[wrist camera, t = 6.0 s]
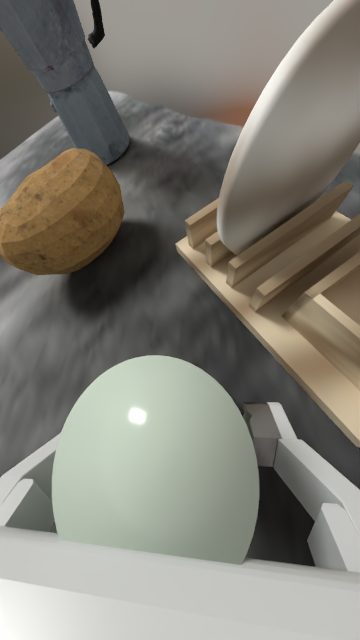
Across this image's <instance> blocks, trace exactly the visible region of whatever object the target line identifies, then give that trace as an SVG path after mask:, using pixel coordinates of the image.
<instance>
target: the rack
mask: <svg viewBox="0 0 360 640" xmlns="http://www.w3.org/2000/svg"><path fill="white" fill-rule="evenodd" d="M359 143H360V0H334V1H333V2H332V3H331V4H330V5H329V6H328V7H327V8H326V9H325V10H324V11H323V12H322V13H321V14H320V15H318V16H317V17H316V19H315V20H314V21H313V22H312V23H311V24H310V26H309V27H308V28H307V29H306V30H305V31H304V33H303V34H302V35H301V36H300V37H299V38H298V40H297V41H296V43H295V44H294V45H293V47H292V48H291V49H290V51H289V52H288V53H287V55H286V56H285V58H284V59H283V60H282V62H281V63H280V65H279V66H278V68H277V69H276V71H275V72H274V74H273V76H272V77H271V79H270V80H269V82H268V83H267V85H266V87H265V88H264V90H263V92H262V94H261V95H260V97H259V99H258V101H257V103H256V104H255V106H254V108H253V110H252V112H251V114H250V116H249V118H248V120H247V122H246V124H245V126H244V128H243V130H242V132H241V134H240V136H239V139H238V141H237V144H236V146H235V149H234V151H233V153H232V156H231V159H230V161H229V164H228V167H227V170H226V173H225V176H224V180H223V184H222V187H221V191H220V196H219V198H218V199H217V200H215V201H214V202H212V203H211V204H209V205H208V206H206V207H205V208H203V209H202V210H200V211H199V212H197V213H195V214H194V215H192V216H191V217H189V218H188V219H186V220H185V225H186V231H187V236H186V237H185V238H183V239H182V240H180V241H179V242H177V243H176V244H175V245H176V249H177V252H178V253H179V254H180V255H181V256H182V257H183V258H184V260H185V261H186V262H187V263H188V264H189V265H190V266H191V267H192V268H193V269H194V270H195V272H196V273H197V274H198V275H199V276H200V277H201V278H202V279H203V280H204V281H205V282H206V284H207V285H208V286H209V287H210V288H211V289H212V290H213V291H214V292H215V293H216V294H217V296H218V297H219V298H220V299H221V300H222V301H223V302H224V303H225V304H226V305H227V306H228V308H229V309H230V310H231V311H232V312H233V313H234V314H235V315H236V316H237V317H238V318H239V319H240V321H241V322H242V323H243V324H244V325H245V326H246V327H247V328H248V329H249V330H250V331H251V333H252V334H253V335H254V336H255V337H256V338H257V339H258V340H259V341H260V342H261V343H262V345H263V346H264V347H265V348H266V349H267V350H268V351H269V352H270V353H271V354H272V355H273V357H274V358H275V359H276V360H277V361H278V362H279V363H280V364H281V365H282V366H283V367H284V368H285V370H286V371H287V372H288V373H289V374H290V375H291V376H292V377H293V378H294V379H295V380H296V382H297V383H298V384H299V385H300V386H301V387H302V388H303V389H304V390H305V391H306V392H307V394H308V395H309V396H310V397H311V398H312V399H313V400H314V401H315V402H316V403H317V404H318V406H319V407H320V408H321V409H322V410H323V411H324V412H325V413H326V414H327V415H328V416H329V418H330V419H331V420H332V421H333V422H334V423H335V424H336V425H337V426H338V427H339V428H340V429H341V431H342V432H343V433H344V434H345V435H346V436H347V437H348V438H349V439H350V440H351V441H352V443H353V444H354V445H355V446H357V447H359V448H360V214H359V215H358V216H356V217H355V218H353V219H352V220H350V219H349V218H347V217H345V216H344V215H342V214H340V213H339V212H337V211H336V210H337V209H338V207H339V206H340V204H341V203H342V202H343V200H344V199H345V197H346V196H347V194H348V193H349V192H350V190H351V189H352V187H353V185H351V184H349V183H347V182H345V181H344V182H343V183H342V184H340V185H339V186H337V187H336V188H334V189H333V190H331V191H330V192H329V193H327V194H326V195H324V196H323V197H321V198H320V199H319V200H318V198H319V197H320V196H321V195H322V194H323V192H324V191H325V190H326V189H327V187H328V186H329V185H330V184H331V182H332V181H333V180H334V178H335V177H336V176H337V174H338V173H339V172H340V170H341V169H342V168H343V166H344V165H345V163H346V162H347V161H348V159H349V158H350V156H351V155H352V153H353V152H354V150H355V149H356V147H357V146H358V144H359Z"/></svg>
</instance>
